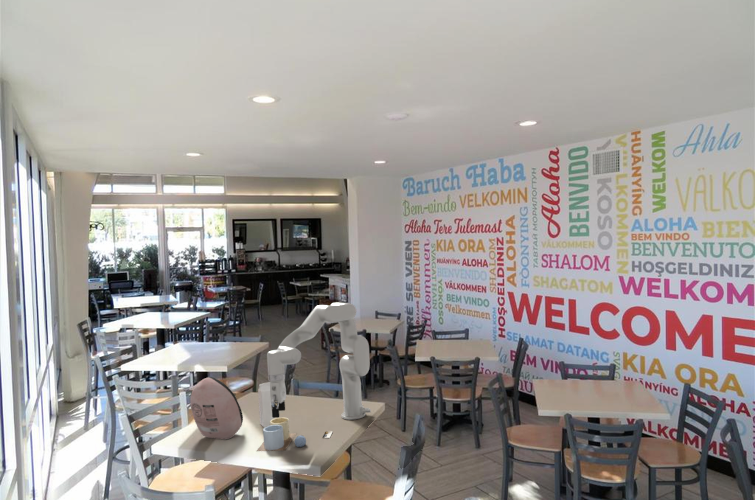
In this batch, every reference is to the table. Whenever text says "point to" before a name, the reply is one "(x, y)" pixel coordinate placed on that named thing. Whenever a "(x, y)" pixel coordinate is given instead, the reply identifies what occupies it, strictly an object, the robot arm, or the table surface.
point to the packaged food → (215, 409)
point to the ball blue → (300, 441)
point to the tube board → (288, 441)
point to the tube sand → (284, 423)
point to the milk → (265, 404)
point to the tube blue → (273, 437)
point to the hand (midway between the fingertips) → (278, 413)
